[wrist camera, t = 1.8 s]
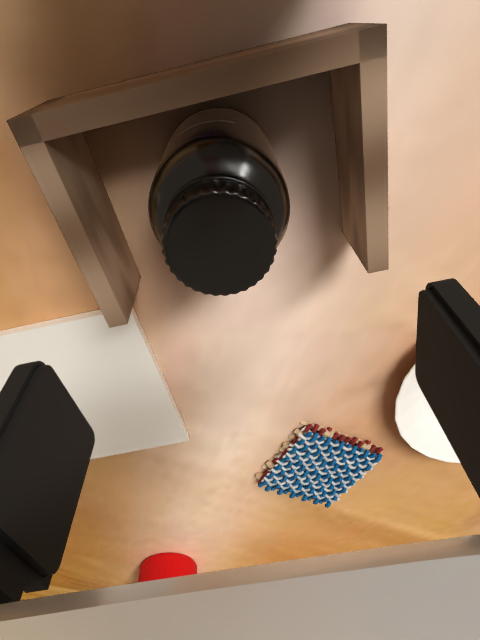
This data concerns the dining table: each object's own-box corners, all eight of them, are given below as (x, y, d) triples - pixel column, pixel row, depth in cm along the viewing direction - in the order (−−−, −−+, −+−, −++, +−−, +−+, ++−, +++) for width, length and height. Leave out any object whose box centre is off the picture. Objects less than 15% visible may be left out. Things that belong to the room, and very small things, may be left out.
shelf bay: (359, 228, 30) (388, 269, 25) (125, 279, 31) (109, 327, 26) (349, 23, 23) (386, 23, 18) (47, 100, 24) (6, 120, 19)
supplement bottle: (213, 77, 24) (214, 116, 14) (294, 160, 27) (341, 239, 17) (142, 169, 27) (102, 254, 17) (222, 235, 30) (228, 340, 20)
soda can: (128, 566, 56) (111, 680, 47) (167, 545, 54) (158, 661, 44) (169, 583, 60) (161, 693, 50) (208, 564, 57) (208, 676, 48)
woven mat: (384, 441, 45) (391, 456, 43) (327, 494, 50) (331, 510, 48) (303, 412, 42) (307, 428, 40) (251, 472, 47) (252, 489, 45)
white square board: (189, 434, 42) (188, 441, 41) (36, 463, 43) (34, 469, 42) (130, 302, 32) (129, 308, 32) (-61, 343, 34) (-66, 350, 33)
